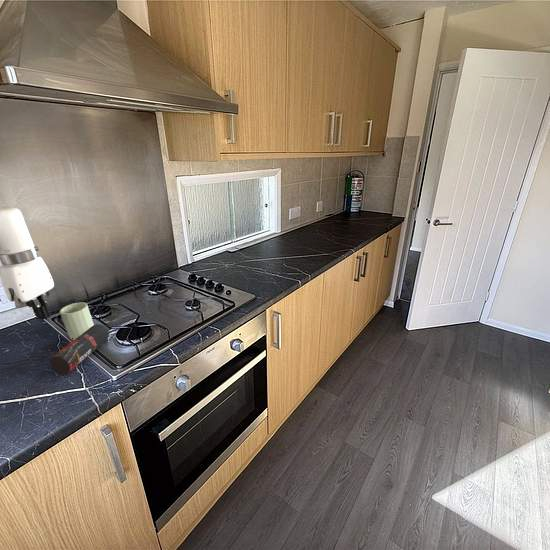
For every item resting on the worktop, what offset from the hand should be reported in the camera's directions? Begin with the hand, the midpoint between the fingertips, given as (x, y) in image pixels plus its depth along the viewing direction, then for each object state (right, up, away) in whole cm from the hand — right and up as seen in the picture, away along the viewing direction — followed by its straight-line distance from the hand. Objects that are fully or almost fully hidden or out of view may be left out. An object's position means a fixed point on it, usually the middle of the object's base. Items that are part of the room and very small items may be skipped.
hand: (44, 317), depth 83 cm
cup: (+2, -7, +14) cm, 15 cm away
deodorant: (+8, -12, -5) cm, 16 cm away
